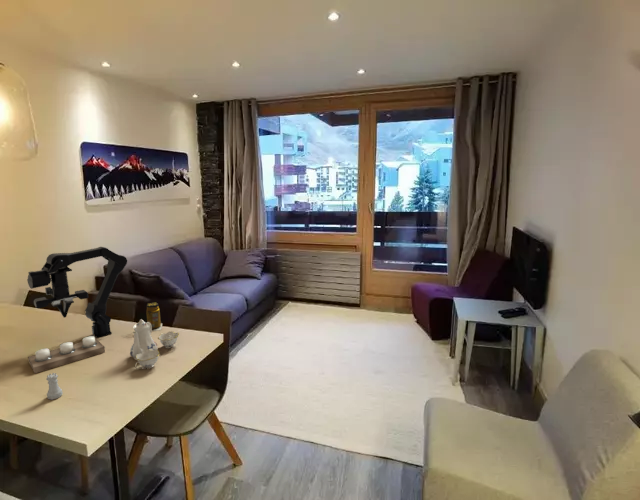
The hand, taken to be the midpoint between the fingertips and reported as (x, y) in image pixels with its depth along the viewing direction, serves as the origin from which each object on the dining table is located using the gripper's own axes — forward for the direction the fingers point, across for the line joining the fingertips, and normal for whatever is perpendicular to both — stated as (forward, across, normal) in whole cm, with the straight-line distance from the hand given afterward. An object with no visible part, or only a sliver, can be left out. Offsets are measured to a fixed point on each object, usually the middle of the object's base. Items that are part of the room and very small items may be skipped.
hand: (64, 317), depth 158 cm
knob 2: (+10, -5, +13) cm, 17 cm away
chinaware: (+13, -22, +36) cm, 44 cm away
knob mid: (+10, +3, +13) cm, 17 cm away
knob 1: (+10, +11, +13) cm, 20 cm away
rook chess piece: (+13, +13, +42) cm, 46 cm away
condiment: (+13, -34, +8) cm, 37 cm away
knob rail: (+13, +3, +13) cm, 19 cm away
